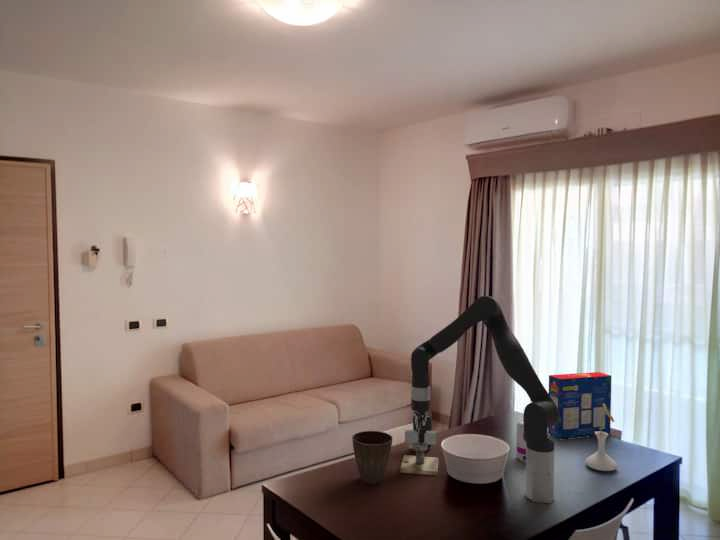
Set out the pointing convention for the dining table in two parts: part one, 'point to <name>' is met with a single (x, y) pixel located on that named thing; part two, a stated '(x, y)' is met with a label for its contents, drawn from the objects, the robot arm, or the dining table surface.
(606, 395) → the blue product box
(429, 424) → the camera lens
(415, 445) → the collar
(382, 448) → the plant pot
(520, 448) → the supplement can
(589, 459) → the flower in vase
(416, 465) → the post base
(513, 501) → the dining table surface
